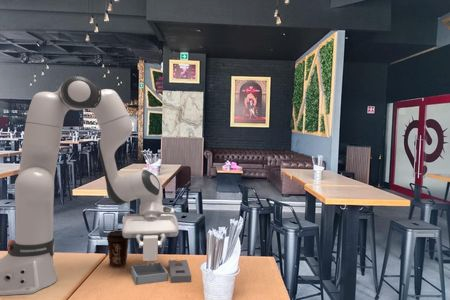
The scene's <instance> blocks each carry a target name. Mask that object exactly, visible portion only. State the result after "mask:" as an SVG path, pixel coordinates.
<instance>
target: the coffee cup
mask: <svg viewBox="0 0 450 300" xmlns="http://www.w3.org/2000/svg"><path fill="white" fill-rule="evenodd" d="M129 240H130V238H124V237H123V236H122V229H119V230H112V231H109V233H108V234H107V236H106V241H107V244H108V245H107V251H108V252H107V253H108V259H109V261H108V262H109V263H108V267H109V269H113V270H121V269H123V268H125V267H126V266H127V258H128V251H129Z"/></svg>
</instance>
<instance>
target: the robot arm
mask: <svg viewBox="0 0 450 300" xmlns="http://www.w3.org/2000/svg"><path fill="white" fill-rule="evenodd" d="M83 110H89V111H90V112H91V113H92V115H94V118H95V119H96V122H97V124H98V126H99V130H100V139H99V140H98V142H97V149H98V154H99V160H100V163H101V167H102V172H103V175H104V179H105V184H106V192H107V197H108V199H109V200H110V202H112V203H113V204H116V205H118V206H122V205H124V204H126V203H130V202H131V201H135V200H137V199H139V200H140V203H139V208H138V209H139V210H138V211H139V212H138V213H127V214H125V215H124V216H122V219H121V223H122V229H121V230H122V236H123V237H124V238H129V239H135V238H136V242H137V244H138V249H143V241H142V240H141V239H142V238H143V237H144V235H158V238H160V240H158V248H162V245H163V242H164V241H165V239H166V238H168V237H169V238H170V237H171V238H173V237H175V238H176V237H177V236H178V235H179V232H180V230H179V221H178V218H177V216H176V214H175V209H174V208H173V207H171V206H165V205H163V199H164V198H163V197H164V194H163V185H162V181H161V179H160V178H159V177H158V176H157V175H155V173H152V172H151V171H150V170H147V169H143V170H140V171H136V172H133V173H131V174H128V175H124V176H120V175H119V172H118V167H117V163H116V157H115V154H116V151H117V150H118V149H119V147H120V146H122V145H123V144H124V143H126V141H127V140H128V139H129V138H130V137H131V135H132V133H133V123H132V120H131V117H130V115H129V112H128V110H127V108H126V106H125V104H124V102H123V100H122V98H121V97H120V95H119V94H118V92H117V91H115V90H114V89H109V88H105V89H100V88H99V87H98V86H97V85H96V84H94V83H93V82H92V81H91V80H90V79H88V78H86V77H84V76H81V75H73V76H70V77H68V78H66V79H65V80H64V81H63V82H62V83H61V85H60V86H59V88H58V89H57V90H56V91H54V92H52V91H39V92H38V93H35V94H34V96H33V97H32V99H31V101H30V105H29V108H28V110H27V115H26V119H25V126H24V132H23V138H22V139H23V140H22V144H21V153H20V154H21V155H20V163H19V171H18V176H17V177H16V179H15V182H14V211H15V231H14V235H15V238H14V239H15V240H14V239H11V240H9V241H8V243H7V253H6V255H5V256H3V257H1V258H0V296H6V295H7V296H9V295H13V296H14V295H25V294H27V295H30V294H34V293H36V292H38V291H39V290H41V289H44V288H47V287H50V286H52V285H53V284H54V283H56V281H58V276H57V273H56V269H55V262H54V255H55V239H54V237H53V236H54V202H55V201H54V200H55V199H54V198H55V177H56V176H55V175H56V170H57V164H58V159H59V154H60V148H61V147H60V146H61V141H62V133H63V126H64V121H65V120H64V119H65V117H66V114H67V113H68V112H70V111H83Z"/></svg>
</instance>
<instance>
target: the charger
mask: <svg viewBox="0 0 450 300" xmlns="http://www.w3.org/2000/svg"><path fill="white" fill-rule="evenodd" d="M158 241H159V237H158V235H144V237H143V240H142V242H143V248H142V249H143V250H142V262H143V261H144V262H146V261H147V262H146V264H147V266H149V264H150V263H149V262H150V261H151V263H152V265H153V263H154V261H158V254H159V253H158V252H159V251H158V250H159V247H158Z"/></svg>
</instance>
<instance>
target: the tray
mask: <svg viewBox="0 0 450 300" xmlns="http://www.w3.org/2000/svg"><path fill="white" fill-rule="evenodd" d="M130 274H131V276H132V277H131V278H133V279H132V280H133V281H134V283H135V286H137V285H146V284H153V283H161V282H168V281H169V272H168V270H167V269H166V267H165V266H164V265H163V263H162V262H161V261H160V262H153V265H152V262H151V263H149V266H147V263H143V264H134V265H130Z"/></svg>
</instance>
